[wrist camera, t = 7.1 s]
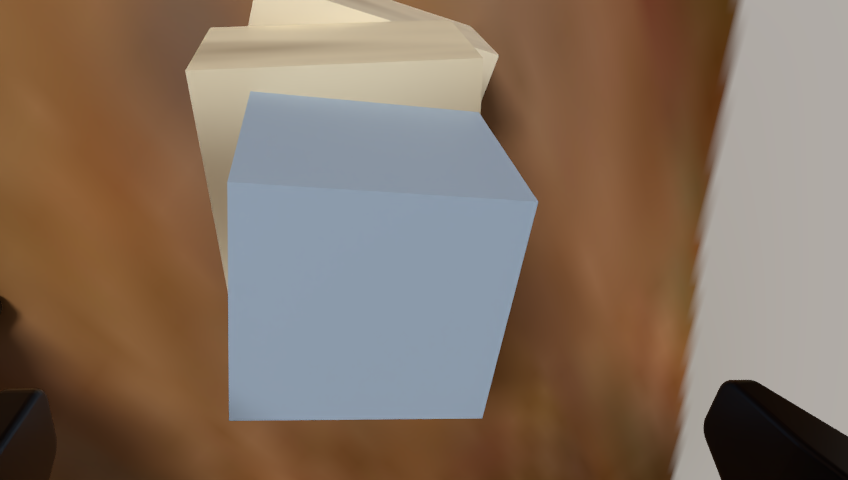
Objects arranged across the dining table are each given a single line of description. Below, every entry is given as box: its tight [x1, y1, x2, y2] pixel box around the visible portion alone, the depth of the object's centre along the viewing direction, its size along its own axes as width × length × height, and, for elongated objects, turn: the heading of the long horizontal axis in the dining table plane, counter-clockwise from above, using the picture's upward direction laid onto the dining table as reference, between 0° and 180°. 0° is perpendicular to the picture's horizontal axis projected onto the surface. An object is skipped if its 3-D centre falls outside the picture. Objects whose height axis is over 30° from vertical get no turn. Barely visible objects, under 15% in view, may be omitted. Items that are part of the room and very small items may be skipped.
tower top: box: [185, 20, 483, 290], centre depth 15 cm, size 6×6×4 cm
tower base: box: [211, 0, 499, 209], centre depth 18 cm, size 6×6×4 cm
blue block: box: [227, 91, 538, 421], centre depth 12 cm, size 4×4×4 cm
